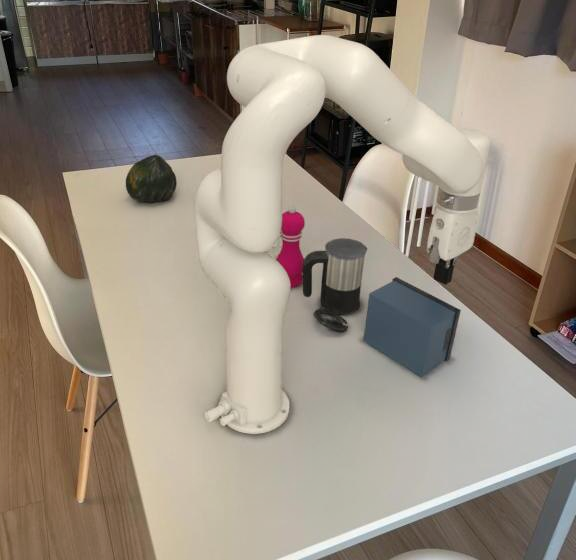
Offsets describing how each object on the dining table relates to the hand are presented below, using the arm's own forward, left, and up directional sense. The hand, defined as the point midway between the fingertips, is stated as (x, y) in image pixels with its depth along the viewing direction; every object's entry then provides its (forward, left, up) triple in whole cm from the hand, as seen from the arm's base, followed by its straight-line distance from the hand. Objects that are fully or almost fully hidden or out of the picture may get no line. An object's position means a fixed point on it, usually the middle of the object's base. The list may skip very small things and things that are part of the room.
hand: (442, 280), depth 118 cm
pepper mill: (-10, +35, -13) cm, 39 cm away
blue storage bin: (-9, 0, -13) cm, 16 cm away
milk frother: (-11, +18, -13) cm, 25 cm away
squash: (-10, +98, -13) cm, 99 cm away
